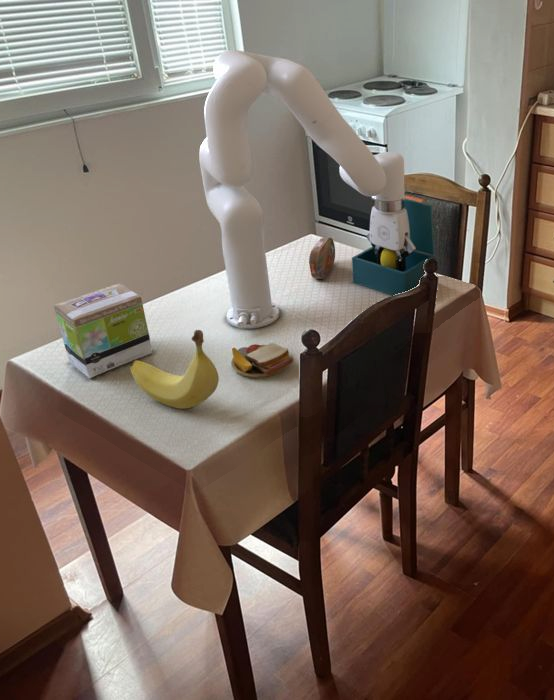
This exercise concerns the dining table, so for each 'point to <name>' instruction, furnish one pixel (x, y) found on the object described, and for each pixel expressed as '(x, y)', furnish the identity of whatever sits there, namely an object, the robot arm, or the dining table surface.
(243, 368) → the toy sandwich meal
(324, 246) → the tin
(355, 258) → the box
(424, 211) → the lunchbox lid
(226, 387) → the dining table surface
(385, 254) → the lemon
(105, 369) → the tea box
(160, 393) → the banana
